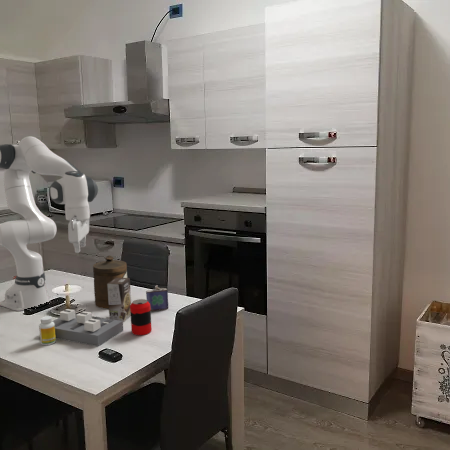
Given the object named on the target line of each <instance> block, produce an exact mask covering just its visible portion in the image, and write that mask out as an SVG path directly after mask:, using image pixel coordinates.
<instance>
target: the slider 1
mask: <svg viewBox="0 0 450 450" xmlns="http://www.w3.org/2000/svg"><path fill="white" fill-rule="evenodd" d="M75 314H76V310H75V309H69V308H66V309H63V310H62V311H60V312H59V318H60V320H65V321H70V320H72V319H74V318H76V316H75Z"/></svg>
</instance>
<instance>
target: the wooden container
mask: <svg viewBox="0 0 450 450" xmlns="http://www.w3.org/2000/svg"><path fill="white" fill-rule="evenodd" d="M127 265H128V264H127V262H126V261H123V260H116V259H115V260H114V256H113V255H107V256H106V257H105V261H103V260H102V261H98V262H96V263H94V264H93V266H92V270H93V272H92V273H93V292H94V293H93V294H94V305H95V307H97V308H99V309H105V310H106V309H107V310H109V302H108V285H107V284H108V283H109V282H111V281H112V280H114V279H115V278H128V270H127V269H128V266H127Z"/></svg>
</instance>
